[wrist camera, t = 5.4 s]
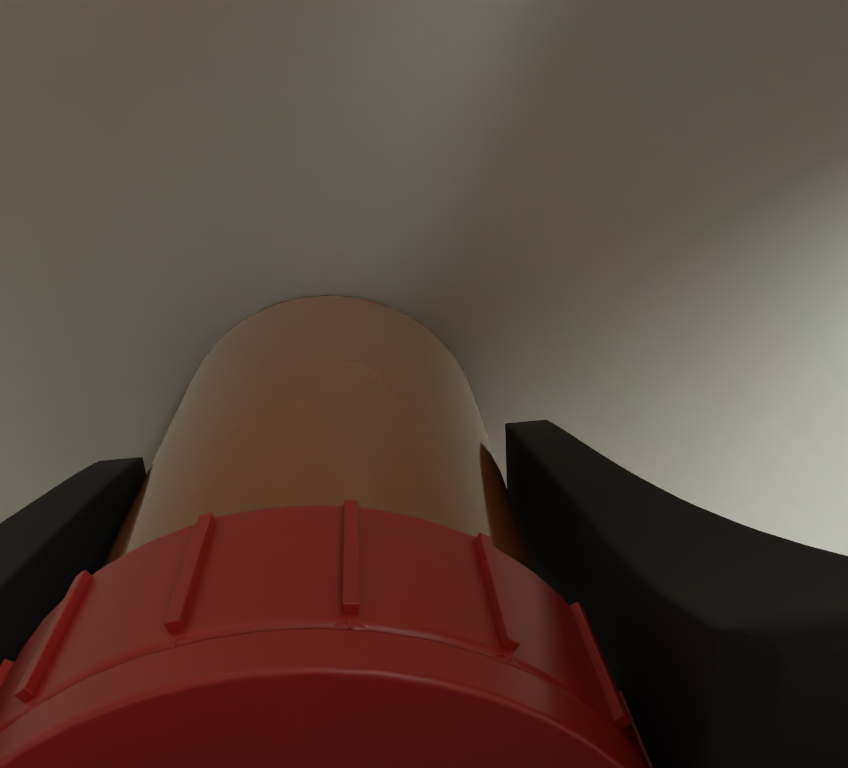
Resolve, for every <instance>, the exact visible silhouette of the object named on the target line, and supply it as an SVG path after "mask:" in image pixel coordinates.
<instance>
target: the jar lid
mask: <svg viewBox="0 0 848 768" xmlns="http://www.w3.org/2000/svg"><path fill="white" fill-rule="evenodd" d="M0 768H653V766H652V764H651V761H650V759H649V757H648V754H647V752H646V749H645V747H644V745H643V742H642V740H641V737H640V735H639V733H638V730H637V728H636V725H635V723H634V720H633V718H632V716H631V713H630V711H629V708H628V706H627V704H626V701H625V699H624V696H623V694H622V691H618V690H617V687H616V685H615V682H614V680H613V678H612V675H611V673H610V670H609V668H608V665H607V663H606V661H605V658H604V656H603V653H602V651H601V649H600V646H599V644H598V641H597V639H596V636H595V634H594V632H593V629H592V627H591V624H590V622H589V620H588V617H587V615H586V612H585V610H584V608H583V607H582V606H581V604H580V603H579V602H576V603H574V604H572V605H571V606H569V605H568V603H567V602H566V601H565V600H564V599H563V598H562V596H561V595H560V594H558V593H557V592H556V591H555V590H554V589H553V588H551V587H550V586H549V585H548V584H547V583H546V582H544V581H543V580H542V579H541V578H540V577H539V576H537V575H536V574H535V573H534V572H533V571H531V570H530V569H528V568H527V567H525V566H524V565H522V564H521V563H519V562H517V561H516V560H514V559H513V558H511V557H509V556H508V555H506V554H505V553H503V552H502V551H500V550H498V549H497V548H495V547H493V544H492V540H491V537H490V536H487V535H485V534H483V533H481V532H480V533H479V534H478V536H477V537H475V536H473V535H470V534H466V533H463V532H461V531H459V530H456V529H453V528H450V527H447V526H444V525H441V524H437V523H434V522H431V521H428V520H425V519H422V518H419V517H415V516H410V515H405V514H399V513H394V512H389V511H384V510H379V509H374V508H364V507H360V506H358V501H354V500H345V501H344V505H307V506H280V507H273V508H267V509H260V510H253V511H246V512H240V513H234V514H230V515H226V516H216V517H213V514H212V512H210V513H206V514H202V515H199V517H198V520H197V523H196V524H193V525H189V526H187V527H184V528H182V529H179V530H177V531H174V532H172V533H169V534H167V535H164V536H162V537H159V538H157V539H154V540H152V541H150V542H147V543H146V544H144V545H142V546H140V547H138V548H137V549H135V550H133V551H131V552H129V553H128V554H126V555H124V556H122V557H120V558H119V559H117V560H115V561H113V562H111V563H110V564H108V565H106V566H105V567H103V568H102V569H101V570H99V571H97V572H95V573H94V574H93V575H91V574H90V573H88V572H87V571H86V570H83V571H82V572H81V573H79V574H78V575H77V576H76V577H75V579H74V581H73V582H72V584H71V586H70V588H69V590H68V592H67V594H66V596H65V598H64V599H63V600H62V601H61V602H60V603H59V604H58V605H57V606H56V607H55V608H54V609H53V610H52V611H51V612H50V613H49V614H48V615H47V616H46V617H45V618H44V619H43V621H42V622H41V623H40V625H39V626H38V628H37V629H36V630H35V632H34V633H33V634H32V636H31V637H30V639H29V640H28V641H27V643H26V644H25V645H24V647H23V648H22V650H21V651H20V653H19V655H18V657H17V659H16V661H15V662H13V661H10V660H7V659H4V661H3V662H2V664H1V666H0Z"/></svg>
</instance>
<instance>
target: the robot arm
mask: <svg viewBox="0 0 848 768" xmlns="http://www.w3.org/2000/svg"><path fill="white" fill-rule="evenodd" d="M505 430H506V468H507V491H508V494H509V497H510V500H511V502H512V505H513V508H514V511H515V514H516V517H517V519H518V522H519V525H520V528H521V531H522V533H523V536H524V539H525V542H526V545H527V547H528V550H529V553H530V556H531V559H532V561H533V564H534V567H535V570H536V573H537V576H539V577H540V578H541V579H542V580H543V581H544V582H546V583H547V584H548V585H549V586H550V587H551V588H553V589H554V590H555V591H556V592H557V593H558V594H560V595H561V596H562V598H563V599H564V600H565V601H566V602H567V603H568V605H569V606H571V605H572V604H574V603H576V602H579V603H580V604H581V606H582V607H583V608H584V610H585V612H586V615H587V617H588V620H589V622H590V624H591V627H592V629H593V632H594V634H595V636H596V639H597V641H598V644H599V646H600V649H601V651H602V653H603V656H604V658H605V661H606V663H607V665H608V668H609V670H610V673H611V675H612V678H613V680H614V682H615V685H616V687H617V690H618V691H622V694H623V696H624V699H625V701H626V704H627V706H628V708H629V711H630V713H631V716H632V718H633V720H634V723H635V725H636V728H637V730H638V733H639V735H640V737H641V740H642V742H643V745H644V747H645V749H646V752H647V754H648V757H649V759H650V761H651V764H652V766H653V768H848V556H845V555H841V554H837V553H833V552H829V551H825V550H822V549H818V548H814V547H810V546H807V545H803V544H800V543H797V542H793V541H790V540H787V539H784V538H781V537H777V536H774V535H771V534H768V533H765V532H761V531H758V530H756V529H753V528H750V527H747V526H744V525H742V524H739V523H736V522H734V521H731V520H729V519H726V518H724V517H721V516H719V515H717V514H714V513H712V512H709V511H707V510H705V509H702V508H700V507H697V506H695V505H693V504H691V503H688V502H686V501H684V500H682V499H680V498H678V497H676V496H674V495H672V494H670V493H668V492H666V491H664V490H662V489H660V488H658V487H657V486H655V485H653V484H651V483H649V482H647V481H645V480H643V479H642V478H640V477H638V476H636V475H635V474H633V473H631V472H629V471H628V470H626V469H624V468H622V467H621V466H619V465H617V464H616V463H614V462H613V461H611V460H609V459H608V458H606V457H605V456H603V455H601V454H600V453H598V452H597V451H595V450H594V449H592V448H590V447H589V446H587V445H586V444H584V443H583V442H581V441H580V440H578V439H577V438H575V437H574V436H572V435H571V434H569V433H567V432H566V431H564V430H563V429H561V428H560V427H558V426H557V425H555V424H553V423H551V422H549V421H548V420H539V421H528V422H517V423H506V424H505ZM145 477H146V471H145V467H144V462H143V458H142V457H138V458H127V459H116V460H106V461H99V462H97V463H95V464H93V465H90V466H89V467H87V468H85V469H83V470H82V471H80V472H78V473H77V474H75V475H73V476H72V477H70V478H69V479H67V480H65V481H64V482H62V483H61V484H59V485H58V486H56V487H55V488H53V489H52V490H50V491H49V492H47V493H46V494H44V495H43V496H41V497H40V498H38V499H37V500H35V501H34V502H32V503H31V504H29V505H28V506H26V507H25V508H23V509H22V510H20V511H19V512H17V513H16V514H14V515H12V516H11V517H9V518H8V519H6V520H5V521H3V522H2V523H0V666H1V664H2V662H3V661H4V659H7V660H10V661H13V662H15V661H16V659H17V657H18V655H19V653H20V651H21V650H22V648H23V647H24V645H25V644H26V643H27V641H28V640H29V639H30V637H31V636H32V634H33V633H34V632H35V630H36V629H37V628H38V626H39V625H40V623H41V622H42V621H43V619H44V618H45V617H46V616H47V615H48V614H49V613H50V612H51V611H52V610H53V609H54V608H55V607H56V606H57V605H58V604H59V603H60V602H61V601H62V600H63V599H64V598H65V596H66V594H67V592H68V590H69V588H70V586H71V584H72V582H73V581H74V579H75V577H76V576H77V575H78V574H79V573H81V572H82V571H83V570H86V571H87V572H88V573H90V574H91V575H93V574H94V573H95V572H97V571H99V570H101V569H102V567H103V565H104V563H105V561H106V559H107V557H108V555H109V553H110V550H111V548H112V546H113V544H114V542H115V540H116V538H117V536H118V534H119V532H120V529H121V527H122V525H123V523H124V521H125V519H126V517H127V515H128V513H129V511H130V508H131V506H132V504H133V502H134V500H135V498H136V496H137V494H138V492H139V490H140V487H141V485H142V483H143V481H144V479H145Z"/></svg>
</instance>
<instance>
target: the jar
mask: <svg viewBox="0 0 848 768" xmlns="http://www.w3.org/2000/svg"><path fill="white" fill-rule="evenodd" d="M345 500H354V501H358V506H360V507H364V508H374V509H379V510H384V511H389V512H394V513H399V514H405V515H410V516H415V517H419V518H422V519H425V520H428V521H431V522H434V523H437V524H441V525H444V526H447V527H450V528H453V529H456V530H459V531H461V532H463V533H466V534H470V535H473V536H475V537H477V536H478V534H479V533H480V532H481V533H483V534H485V535H487V536H490V537H491V540H492V544H493V547H495V548H497V549H498V550H500V551H502V552H503V553H505V554H506V555H508V556H509V557H511V558H513V559H514V560H516V561H517V562H519V563H521V564H522V565H524V566H525V567H527V568H528V569H530V570H531V571H533V572H534V573H535V574H536V575H537V573H536V570H535V567H534V564H533V561H532V559H531V556H530V553H529V550H528V547H527V545H526V542H525V539H524V536H523V533H522V531H521V528H520V525H519V522H518V519H517V517H516V514H515V511H514V508H513V505H512V502H511V500H510V497H509V494H508V491H507V488H506V486H505V483H504V480H503V477H502V474H501V472H500V469H499V466H498V463H497V460H496V458H495V455H494V452H493V449H492V446H491V443H490V441H489V438H488V435H487V432H486V429H485V427H484V424H483V421H482V418H481V415H480V413H479V410H478V407H477V404H476V401H475V399H474V396H473V393H472V390H471V387H470V384H469V382H468V379H467V377H466V376H465V374H464V372H463V370H462V368H461V366H460V364H459V363H458V361H457V360H456V359H455V357H454V356H453V354H452V353H451V352H450V350H449V349H448V348H447V347H446V346H445V345H444V344H443V343H442V342H441V341H440V339H439V338H438V337H437V336H436V335H434V334H433V333H432V332H431V331H429V330H428V329H427V328H426V327H424V326H423V325H422V324H421V323H419V322H417V321H416V320H414V319H412V318H411V317H409V316H407V315H406V314H404V313H402V312H399V311H397V310H395V309H393V308H390V307H388V306H386V305H382V304H379V303H376V302H372V301H369V300H365V299H359V298H353V297H346V296H316V297H305V298H300V299H295V300H291V301H286V302H283V303H280V304H277V305H274V306H272V307H269V308H266V309H264V310H262V311H260V312H258V313H256V314H254V315H252V316H250V317H248V318H246V319H245V320H244V321H242V322H241V323H239V324H238V325H236V326H235V327H234V328H232V329H231V330H230V331H228V332H227V333H226V334H225V335H224V336H223V337H222V338H221V339H220V340H219V341H218V342H217V343H216V344H215V345H214V346H213V347H212V349H211V350H210V351H209V352H208V354H207V355H206V356H205V357H204V359H203V361H202V362H201V364H200V366H199V367H198V369H197V371H196V372H195V374H194V376H193V378H192V380H191V382H190V384H189V387H188V389H187V391H186V393H185V395H184V397H183V399H182V401H181V403H180V406H179V408H178V410H177V412H176V414H175V416H174V418H173V420H172V422H171V424H170V427H169V429H168V431H167V433H166V435H165V437H164V439H163V441H162V443H161V445H160V448H159V450H158V452H157V454H156V456H155V458H154V460H153V462H152V464H151V466H150V469H149V471H148V473H147V475H146V477H145V479H144V481H143V483H142V485H141V487H140V490H139V492H138V494H137V496H136V498H135V500H134V502H133V504H132V506H131V508H130V511H129V513H128V515H127V517H126V519H125V521H124V523H123V525H122V527H121V529H120V532H119V534H118V536H117V538H116V540H115V542H114V544H113V546H112V548H111V550H110V553H109V555H108V557H107V559H106V561H105V563H104V565H103V567H105V566H106V565H108V564H110V563H111V562H113V561H115V560H117V559H119V558H120V557H122V556H124V555H126V554H128V553H129V552H131V551H133V550H135V549H137V548H138V547H140V546H142V545H144V544H146V543H147V542H150V541H152V540H154V539H157V538H159V537H162V536H164V535H167V534H169V533H172V532H174V531H177V530H179V529H182V528H184V527H187V526H189V525H193V524H196V523H197V520H198V517H199V515H202V514H206V513H210V512H212V514H213V517H216V516H226V515H230V514H234V513H240V512H246V511H253V510H260V509H267V508H273V507H280V506H307V505H344V501H345ZM103 567H102V568H103Z"/></svg>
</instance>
